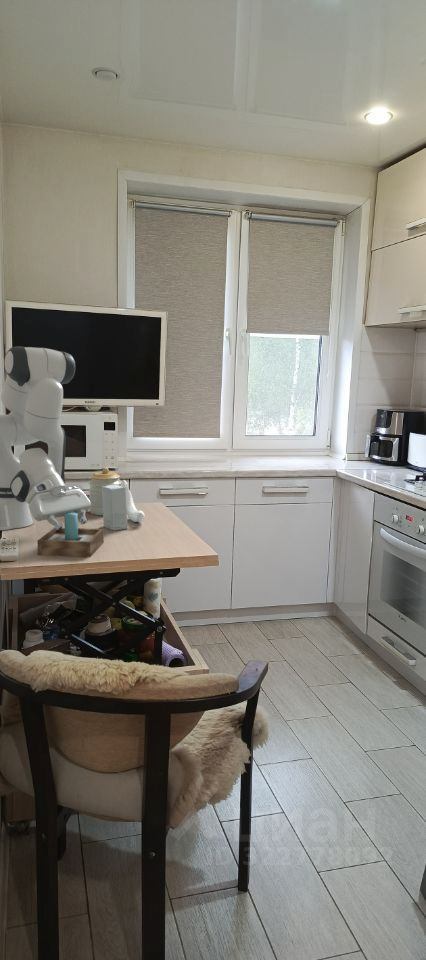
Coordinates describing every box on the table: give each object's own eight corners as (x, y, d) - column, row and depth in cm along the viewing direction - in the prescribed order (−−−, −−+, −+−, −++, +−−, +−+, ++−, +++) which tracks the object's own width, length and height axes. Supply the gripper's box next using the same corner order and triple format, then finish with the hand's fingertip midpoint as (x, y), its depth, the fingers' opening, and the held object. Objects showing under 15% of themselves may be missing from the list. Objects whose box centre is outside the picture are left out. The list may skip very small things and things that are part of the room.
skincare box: (127, 529, 225) (127, 487, 222) (111, 531, 222) (111, 488, 219) (117, 524, 232) (116, 483, 229) (101, 526, 229) (101, 485, 226)
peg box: (37, 554, 192) (37, 540, 192) (55, 541, 208) (54, 527, 207) (90, 556, 191) (90, 542, 191) (103, 542, 207) (103, 529, 206)
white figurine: (138, 528, 227) (137, 487, 224) (118, 517, 243) (118, 478, 241) (150, 526, 229) (150, 486, 227) (130, 515, 246) (130, 477, 243)
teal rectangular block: (63, 550, 198) (62, 515, 196) (67, 546, 202) (66, 512, 200) (76, 550, 198) (75, 515, 196) (79, 547, 202) (79, 512, 200)
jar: (85, 510, 254) (84, 465, 251) (117, 507, 259) (117, 464, 256) (93, 517, 243) (92, 470, 240) (126, 514, 248) (126, 469, 245)
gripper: (74, 491, 212) (94, 525, 208) (20, 500, 197) (40, 537, 192) (82, 480, 209) (103, 514, 204) (28, 488, 193) (49, 525, 189)
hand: (72, 525), depth 198 cm, fingers open, 8 cm apart
